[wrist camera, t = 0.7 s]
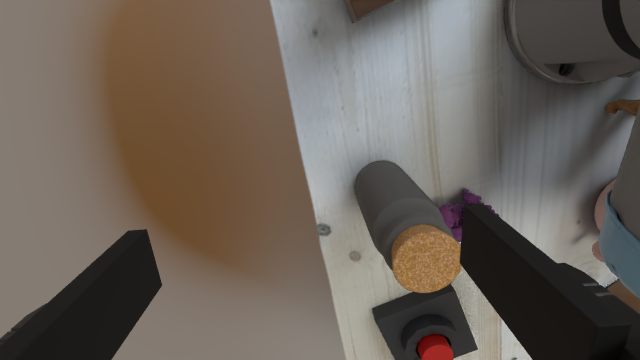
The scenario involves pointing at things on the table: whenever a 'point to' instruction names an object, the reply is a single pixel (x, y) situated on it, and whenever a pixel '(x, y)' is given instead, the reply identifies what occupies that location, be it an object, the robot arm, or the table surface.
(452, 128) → the table surface
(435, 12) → the table surface
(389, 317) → the switch base
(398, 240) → the bottle
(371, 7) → the dial panel
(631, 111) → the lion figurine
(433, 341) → the switch
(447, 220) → the purple lumpy piece
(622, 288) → the wooden block
